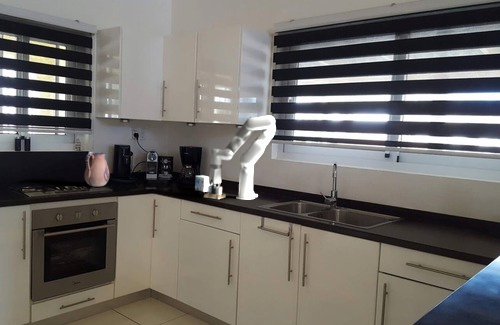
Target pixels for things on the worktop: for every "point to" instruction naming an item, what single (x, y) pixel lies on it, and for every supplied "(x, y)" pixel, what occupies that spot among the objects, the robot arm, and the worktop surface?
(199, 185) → the light bulb box
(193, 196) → the worktop surface
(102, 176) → the ceramic pitcher
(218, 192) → the frame slab
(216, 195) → the oak board
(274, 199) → the worktop surface
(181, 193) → the worktop surface
